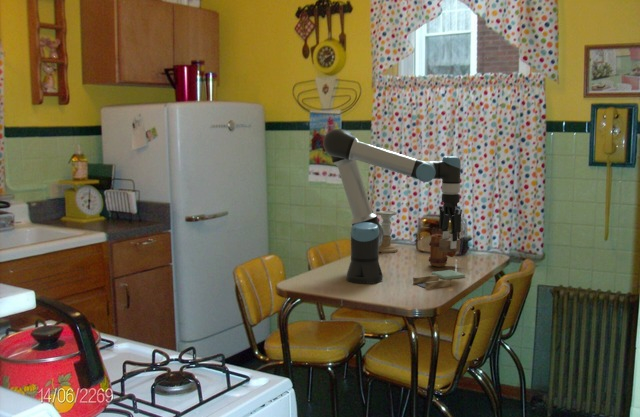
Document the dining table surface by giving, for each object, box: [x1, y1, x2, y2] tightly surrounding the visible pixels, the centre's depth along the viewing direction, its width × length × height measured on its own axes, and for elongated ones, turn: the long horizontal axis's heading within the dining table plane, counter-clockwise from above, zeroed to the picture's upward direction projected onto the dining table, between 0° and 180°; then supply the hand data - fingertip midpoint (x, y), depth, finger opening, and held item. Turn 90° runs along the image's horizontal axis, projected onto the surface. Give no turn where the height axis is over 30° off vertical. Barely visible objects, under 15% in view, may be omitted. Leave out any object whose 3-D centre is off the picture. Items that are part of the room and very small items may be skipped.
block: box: [439, 238, 461, 253], centre depth 277 cm, size 7×5×5 cm
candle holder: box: [375, 210, 399, 254], centre depth 334 cm, size 12×12×20 cm
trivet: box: [431, 269, 466, 280], centre depth 279 cm, size 10×10×1 cm
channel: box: [412, 274, 452, 290], centre depth 264 cm, size 12×10×2 cm
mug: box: [428, 233, 459, 268], centre depth 299 cm, size 15×8×15 cm, turn 105°
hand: (449, 247), depth 277 cm, fingers closed on block, 5 cm apart
